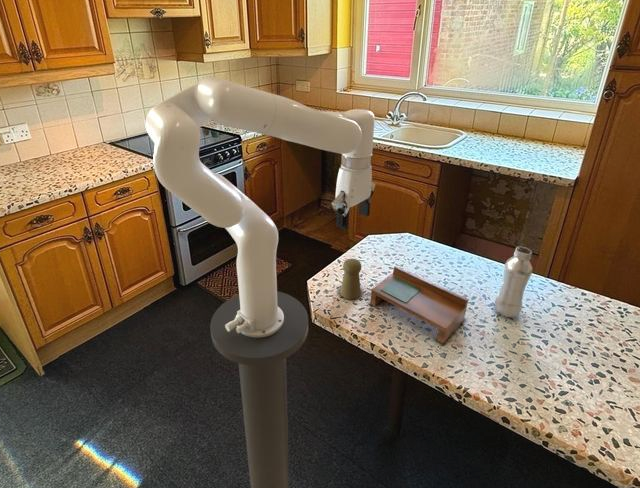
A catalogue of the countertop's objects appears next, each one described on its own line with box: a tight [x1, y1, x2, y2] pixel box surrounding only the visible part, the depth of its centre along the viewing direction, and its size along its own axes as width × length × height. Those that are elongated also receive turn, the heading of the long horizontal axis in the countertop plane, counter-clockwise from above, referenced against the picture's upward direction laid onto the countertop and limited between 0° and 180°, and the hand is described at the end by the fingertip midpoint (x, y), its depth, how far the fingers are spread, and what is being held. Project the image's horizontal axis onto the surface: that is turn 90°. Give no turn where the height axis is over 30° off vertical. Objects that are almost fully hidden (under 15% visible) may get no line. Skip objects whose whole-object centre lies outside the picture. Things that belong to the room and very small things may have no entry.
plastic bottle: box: [494, 246, 533, 318], centre depth 105 cm, size 6×7×20 cm
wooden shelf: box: [369, 265, 470, 345], centre depth 108 cm, size 12×22×7 cm, turn 46°
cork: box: [339, 258, 362, 300], centre depth 114 cm, size 6×6×11 cm
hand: (353, 220), depth 107 cm, fingers open, 9 cm apart
